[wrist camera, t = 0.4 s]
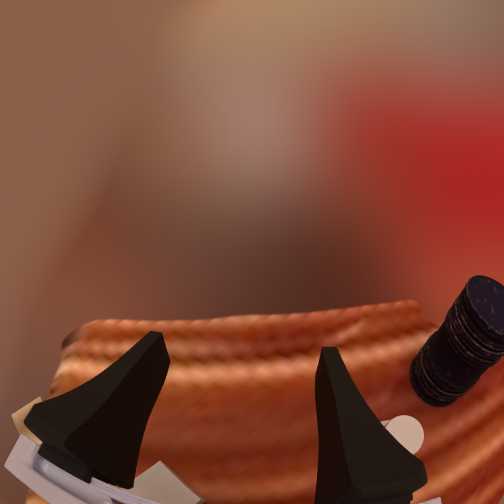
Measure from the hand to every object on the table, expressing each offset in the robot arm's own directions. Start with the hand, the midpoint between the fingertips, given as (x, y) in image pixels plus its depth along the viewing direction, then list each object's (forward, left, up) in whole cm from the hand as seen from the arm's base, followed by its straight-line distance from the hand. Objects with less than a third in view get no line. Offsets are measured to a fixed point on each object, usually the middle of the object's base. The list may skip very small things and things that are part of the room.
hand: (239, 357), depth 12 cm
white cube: (-8, +5, -20) cm, 22 cm away
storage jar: (+12, -26, -20) cm, 34 cm away
